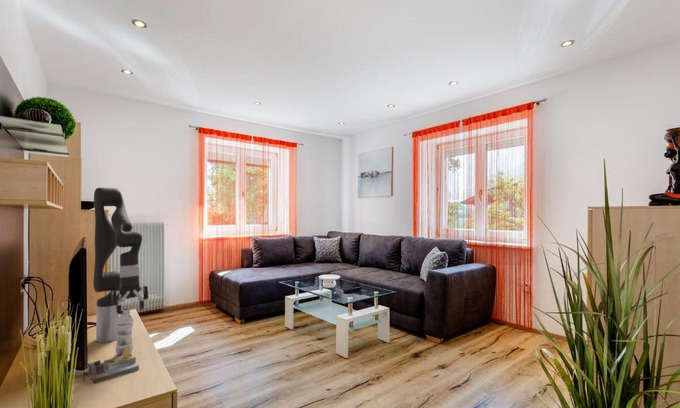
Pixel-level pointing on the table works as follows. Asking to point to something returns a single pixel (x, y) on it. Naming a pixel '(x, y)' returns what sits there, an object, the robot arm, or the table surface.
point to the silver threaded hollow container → (124, 331)
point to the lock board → (110, 368)
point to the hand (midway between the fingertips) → (130, 311)
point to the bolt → (125, 354)
